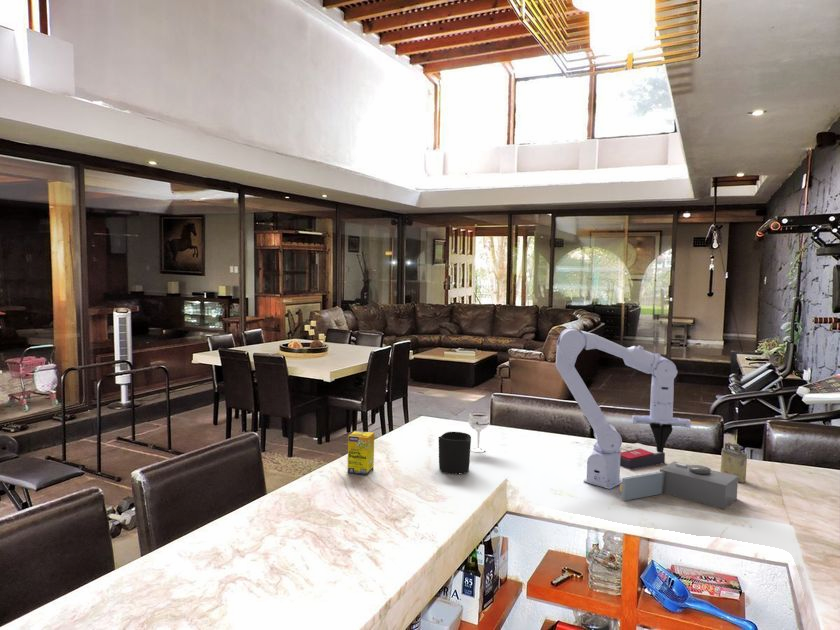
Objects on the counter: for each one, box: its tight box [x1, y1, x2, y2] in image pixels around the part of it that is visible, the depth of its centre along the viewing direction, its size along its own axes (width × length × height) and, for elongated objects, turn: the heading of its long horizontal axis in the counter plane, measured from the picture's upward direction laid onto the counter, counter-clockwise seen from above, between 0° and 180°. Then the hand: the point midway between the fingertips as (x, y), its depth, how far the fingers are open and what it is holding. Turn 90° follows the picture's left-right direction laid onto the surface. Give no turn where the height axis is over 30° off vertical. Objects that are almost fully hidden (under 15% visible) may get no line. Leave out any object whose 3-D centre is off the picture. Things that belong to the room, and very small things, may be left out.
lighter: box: [719, 442, 748, 484], centre depth 161 cm, size 7×4×10 cm, turn 28°
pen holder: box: [438, 431, 472, 475], centre depth 165 cm, size 9×9×10 cm
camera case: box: [659, 461, 739, 510], centre depth 148 cm, size 10×16×7 cm, turn 46°
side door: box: [619, 470, 665, 501], centre depth 146 cm, size 2×14×6 cm, turn 115°
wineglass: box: [468, 411, 490, 451], centre depth 184 cm, size 7×7×12 cm
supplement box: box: [347, 430, 375, 476], centre depth 161 cm, size 6×6×11 cm
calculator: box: [620, 442, 666, 470], centre depth 176 cm, size 11×4×15 cm
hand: (659, 451), depth 155 cm, fingers closed
